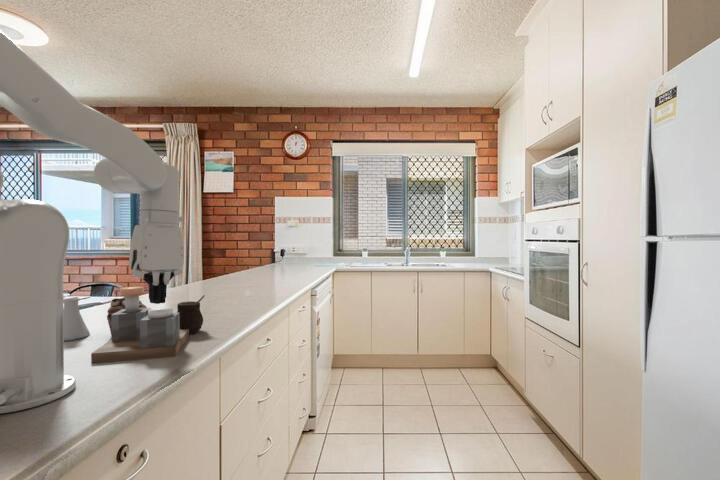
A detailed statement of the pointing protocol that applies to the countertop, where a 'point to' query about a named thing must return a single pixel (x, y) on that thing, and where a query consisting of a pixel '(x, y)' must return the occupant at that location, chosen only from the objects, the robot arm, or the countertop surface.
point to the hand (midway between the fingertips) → (157, 302)
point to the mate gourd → (190, 316)
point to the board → (141, 337)
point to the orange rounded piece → (131, 298)
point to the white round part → (160, 312)
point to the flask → (73, 320)
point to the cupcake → (118, 308)
